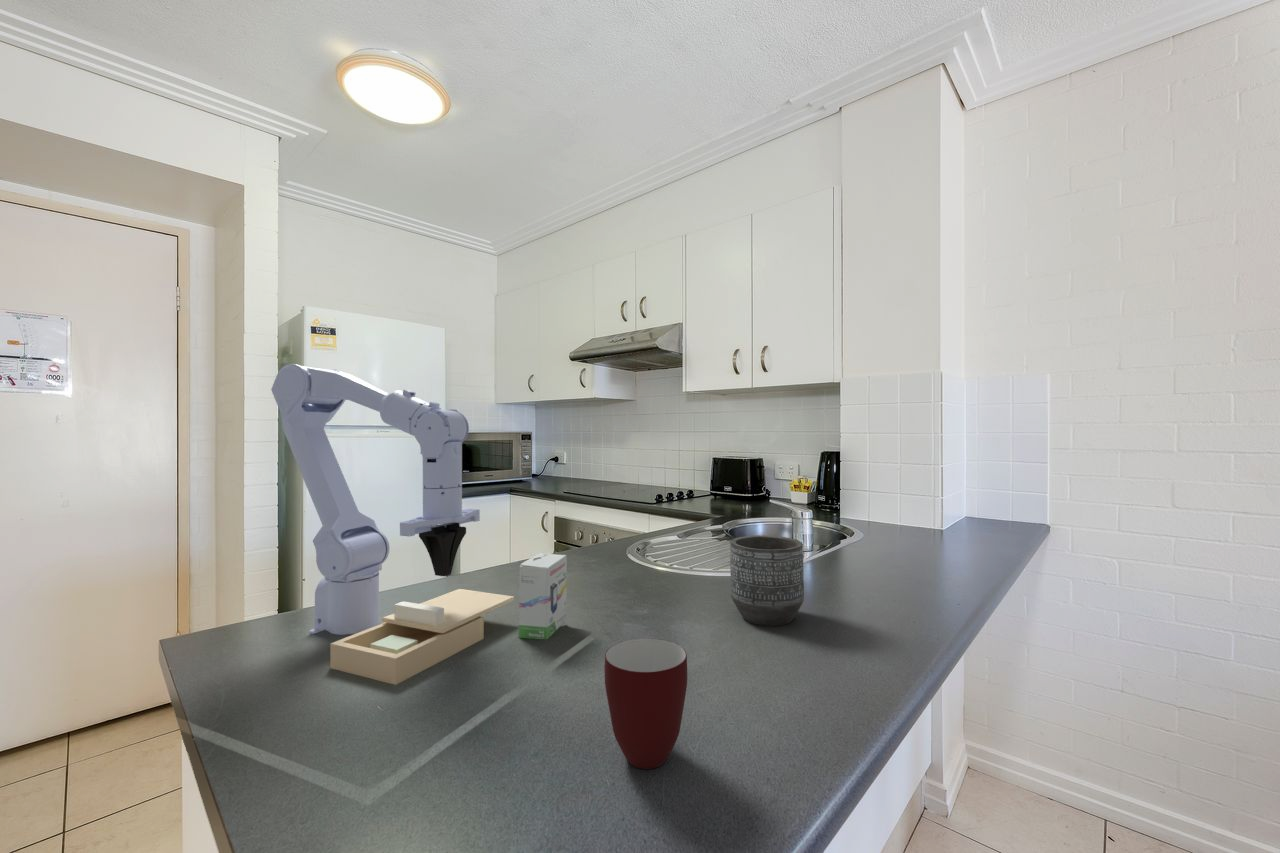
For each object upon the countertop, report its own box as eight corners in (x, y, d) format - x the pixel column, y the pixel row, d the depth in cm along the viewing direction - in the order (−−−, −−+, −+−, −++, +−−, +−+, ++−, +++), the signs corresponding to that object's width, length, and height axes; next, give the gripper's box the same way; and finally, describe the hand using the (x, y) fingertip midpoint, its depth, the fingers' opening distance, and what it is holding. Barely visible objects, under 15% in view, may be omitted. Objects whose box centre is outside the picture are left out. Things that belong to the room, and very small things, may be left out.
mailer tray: (330, 673, 71) (330, 643, 71) (424, 632, 85) (424, 607, 85) (395, 691, 66) (395, 658, 66) (483, 643, 80) (483, 617, 80)
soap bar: (370, 662, 72) (370, 643, 72) (391, 652, 76) (391, 634, 76) (397, 668, 70) (396, 649, 70) (418, 658, 73) (417, 640, 74)
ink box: (538, 623, 89) (538, 552, 89) (568, 625, 88) (567, 553, 88) (516, 643, 81) (516, 564, 81) (549, 645, 80) (548, 566, 80)
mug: (592, 728, 57) (591, 635, 57) (663, 716, 59) (662, 626, 60) (617, 792, 47) (616, 678, 47) (701, 773, 49) (700, 665, 49)
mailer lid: (382, 621, 78) (382, 603, 78) (459, 592, 92) (459, 577, 92) (442, 633, 73) (442, 614, 73) (513, 600, 88) (513, 584, 88)
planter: (812, 612, 93) (811, 539, 93) (792, 636, 82) (790, 553, 82) (746, 601, 99) (745, 532, 99) (719, 621, 89) (718, 544, 89)
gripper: (425, 492, 74) (425, 590, 74) (494, 483, 88) (494, 566, 87) (389, 491, 77) (389, 585, 77) (460, 482, 91) (461, 562, 90)
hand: (443, 574), depth 83 cm, fingers closed
